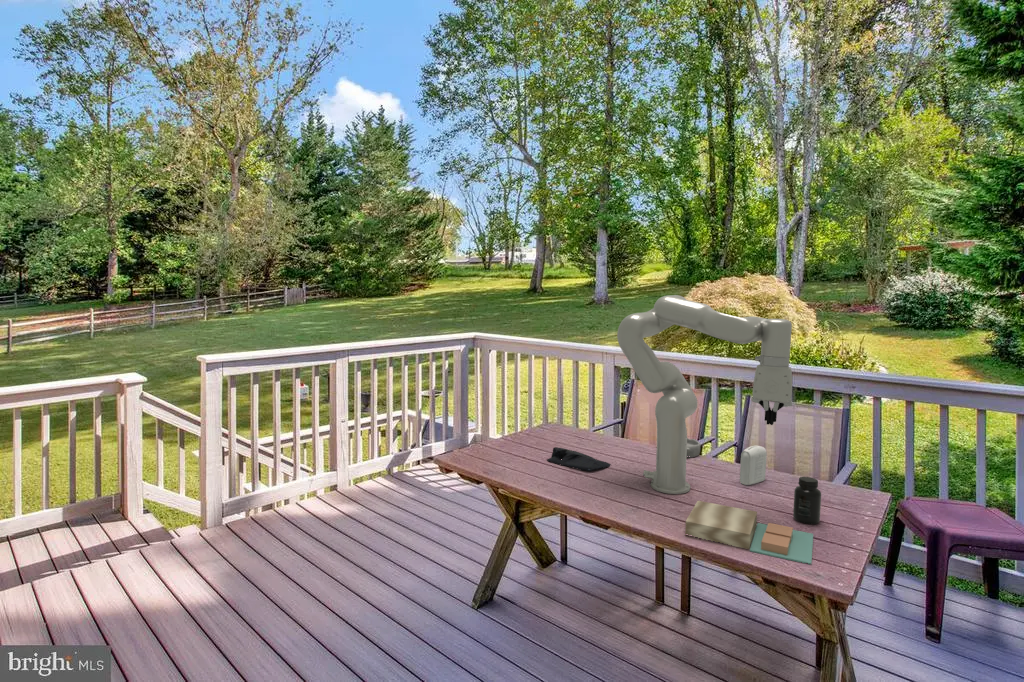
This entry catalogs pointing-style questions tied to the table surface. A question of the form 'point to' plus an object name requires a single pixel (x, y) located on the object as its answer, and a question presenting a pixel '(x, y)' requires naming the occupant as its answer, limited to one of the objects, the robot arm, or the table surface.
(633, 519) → the table surface
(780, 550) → the tile
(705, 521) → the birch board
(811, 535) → the rubber mat
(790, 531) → the tile
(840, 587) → the table surface
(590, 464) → the black folded cloth
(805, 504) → the supplement bottle
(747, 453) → the photo printer
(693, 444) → the dish
